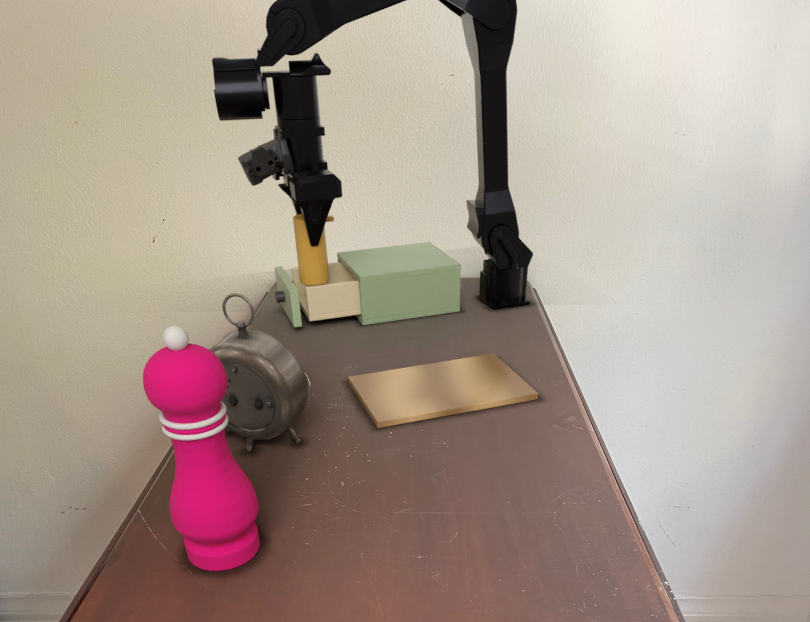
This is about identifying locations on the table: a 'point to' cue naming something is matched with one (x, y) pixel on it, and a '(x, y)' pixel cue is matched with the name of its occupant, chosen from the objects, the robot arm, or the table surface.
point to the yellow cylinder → (311, 254)
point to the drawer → (318, 295)
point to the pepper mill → (202, 455)
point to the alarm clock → (260, 382)
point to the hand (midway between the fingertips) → (310, 241)
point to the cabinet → (404, 281)
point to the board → (439, 389)
